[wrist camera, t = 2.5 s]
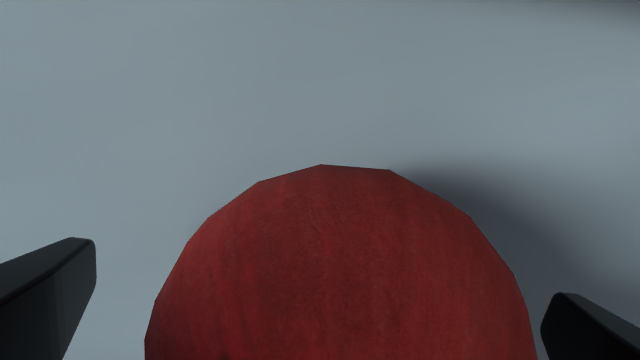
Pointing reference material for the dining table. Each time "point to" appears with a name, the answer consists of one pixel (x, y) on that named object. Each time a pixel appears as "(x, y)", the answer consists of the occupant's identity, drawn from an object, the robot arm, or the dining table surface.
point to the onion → (339, 278)
